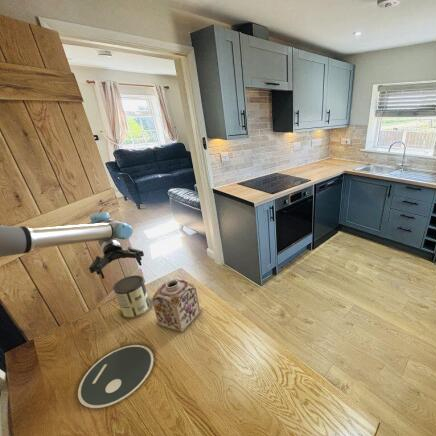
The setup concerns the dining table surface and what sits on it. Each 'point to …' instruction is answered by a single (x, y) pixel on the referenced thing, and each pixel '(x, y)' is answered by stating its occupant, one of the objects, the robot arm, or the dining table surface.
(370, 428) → the dining table surface
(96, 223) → the robot arm
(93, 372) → the board
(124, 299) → the coffee can
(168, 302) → the decorative jar
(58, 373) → the dining table surface
